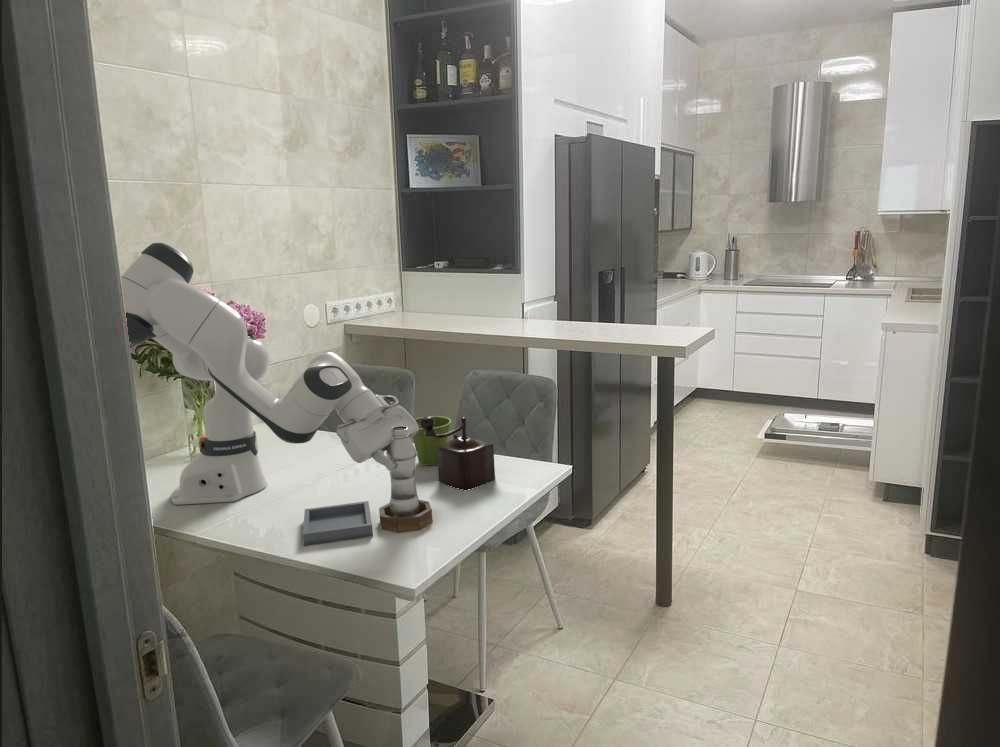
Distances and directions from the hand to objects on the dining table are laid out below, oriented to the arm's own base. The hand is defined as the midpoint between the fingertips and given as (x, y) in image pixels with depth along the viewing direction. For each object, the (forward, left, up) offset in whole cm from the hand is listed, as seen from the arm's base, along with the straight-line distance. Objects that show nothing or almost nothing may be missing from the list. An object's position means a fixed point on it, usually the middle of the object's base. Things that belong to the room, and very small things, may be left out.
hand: (404, 462), depth 159 cm
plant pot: (+10, +39, -14) cm, 42 cm away
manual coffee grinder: (+14, +20, -14) cm, 28 cm away
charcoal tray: (-15, +2, -14) cm, 20 cm away
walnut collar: (-1, 0, -14) cm, 14 cm away
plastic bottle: (-1, 0, -13) cm, 13 cm away
